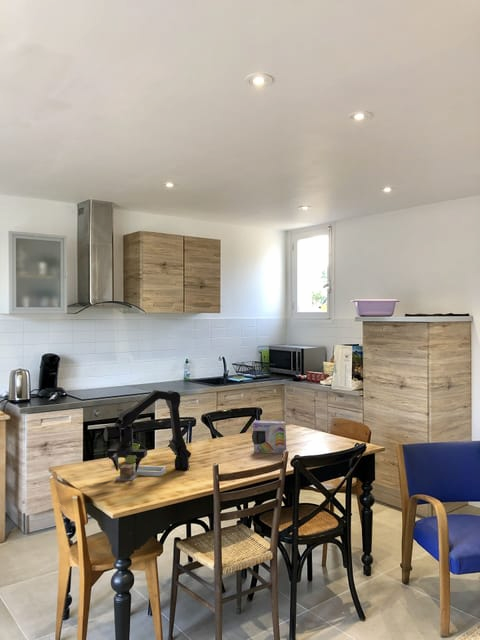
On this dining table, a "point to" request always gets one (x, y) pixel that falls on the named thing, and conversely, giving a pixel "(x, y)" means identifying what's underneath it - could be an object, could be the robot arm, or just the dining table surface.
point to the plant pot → (132, 457)
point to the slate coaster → (127, 478)
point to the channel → (150, 470)
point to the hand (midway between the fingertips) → (126, 471)
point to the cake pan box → (269, 436)
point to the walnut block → (126, 471)
